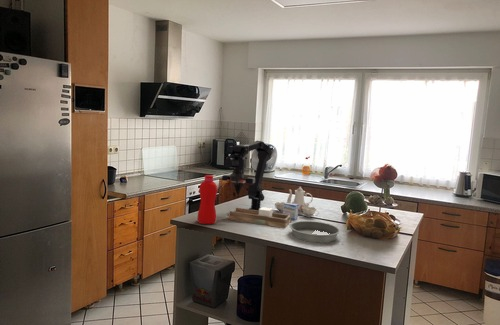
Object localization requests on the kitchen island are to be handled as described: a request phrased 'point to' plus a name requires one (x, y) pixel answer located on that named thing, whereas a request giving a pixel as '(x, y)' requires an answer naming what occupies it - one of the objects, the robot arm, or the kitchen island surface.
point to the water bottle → (207, 201)
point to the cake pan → (306, 229)
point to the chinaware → (300, 201)
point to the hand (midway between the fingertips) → (237, 193)
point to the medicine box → (291, 210)
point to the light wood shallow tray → (260, 217)
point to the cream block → (265, 212)
